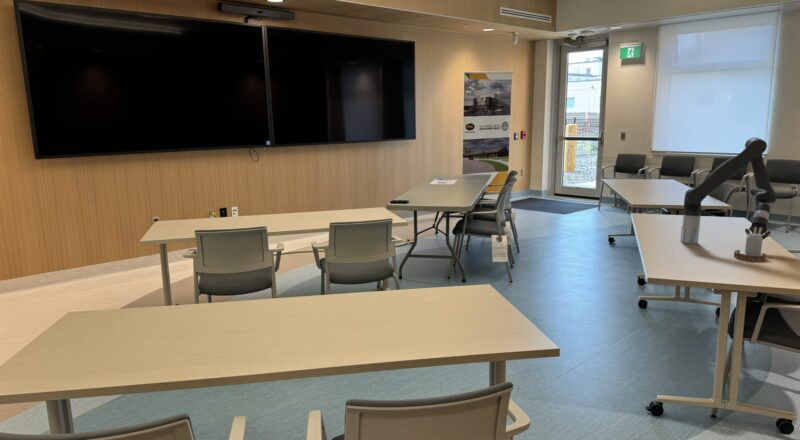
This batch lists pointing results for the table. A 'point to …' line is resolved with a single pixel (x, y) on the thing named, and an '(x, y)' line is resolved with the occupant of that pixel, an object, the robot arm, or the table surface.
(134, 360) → the table surface
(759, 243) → the can
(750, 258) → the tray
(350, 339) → the table surface
